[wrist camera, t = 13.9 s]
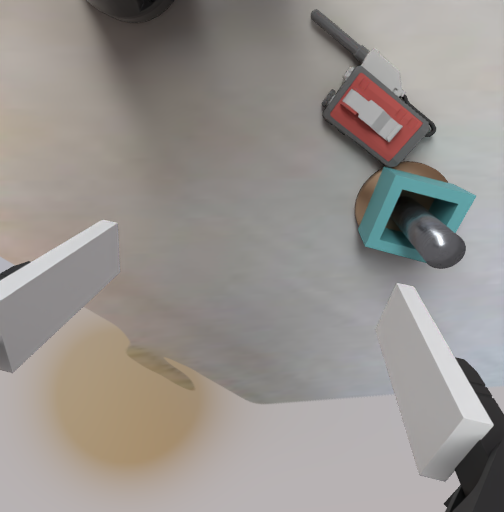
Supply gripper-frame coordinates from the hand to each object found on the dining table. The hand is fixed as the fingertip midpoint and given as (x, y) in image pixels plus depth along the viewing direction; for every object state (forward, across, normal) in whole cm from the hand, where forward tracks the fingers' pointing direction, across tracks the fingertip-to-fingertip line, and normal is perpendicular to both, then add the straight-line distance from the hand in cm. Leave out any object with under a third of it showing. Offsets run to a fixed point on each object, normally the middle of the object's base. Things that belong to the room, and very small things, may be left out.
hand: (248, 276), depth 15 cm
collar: (+30, +17, -3) cm, 35 cm away
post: (+30, +17, -3) cm, 35 cm away
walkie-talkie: (+33, +7, +9) cm, 35 cm away
